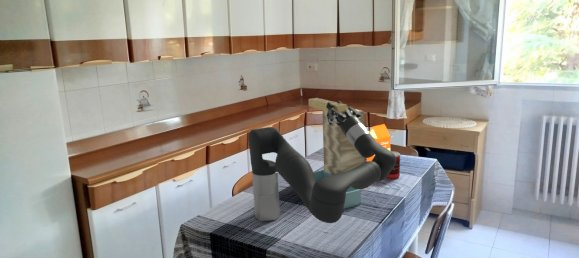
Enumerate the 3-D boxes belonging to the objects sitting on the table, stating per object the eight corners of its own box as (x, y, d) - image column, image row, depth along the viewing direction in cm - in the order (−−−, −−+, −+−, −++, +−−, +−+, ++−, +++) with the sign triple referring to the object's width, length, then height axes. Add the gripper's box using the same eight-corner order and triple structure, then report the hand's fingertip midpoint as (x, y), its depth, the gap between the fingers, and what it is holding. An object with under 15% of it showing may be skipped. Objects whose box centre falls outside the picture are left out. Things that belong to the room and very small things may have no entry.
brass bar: (347, 112, 154) (347, 104, 153) (338, 113, 152) (337, 105, 151) (317, 104, 173) (316, 97, 172) (308, 106, 171) (308, 98, 171)
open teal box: (360, 204, 160) (360, 189, 159) (337, 210, 155) (337, 195, 154) (323, 182, 184) (323, 170, 183) (302, 187, 180) (302, 174, 178)
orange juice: (390, 164, 205) (390, 125, 201) (377, 168, 200) (377, 128, 196) (378, 160, 211) (378, 122, 207) (366, 164, 207) (366, 125, 202)
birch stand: (364, 182, 182) (364, 111, 175) (341, 188, 177) (340, 114, 170) (346, 173, 195) (345, 106, 187) (324, 178, 190) (322, 109, 182)
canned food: (387, 172, 194) (388, 150, 191) (403, 176, 188) (403, 153, 186) (378, 177, 189) (378, 153, 186) (394, 180, 183) (394, 157, 181)
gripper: (375, 121, 148) (351, 93, 159) (342, 127, 141) (319, 97, 153) (369, 137, 152) (345, 108, 163) (336, 143, 146) (314, 113, 157)
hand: (333, 103), depth 158 cm, fingers closed on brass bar, 4 cm apart
